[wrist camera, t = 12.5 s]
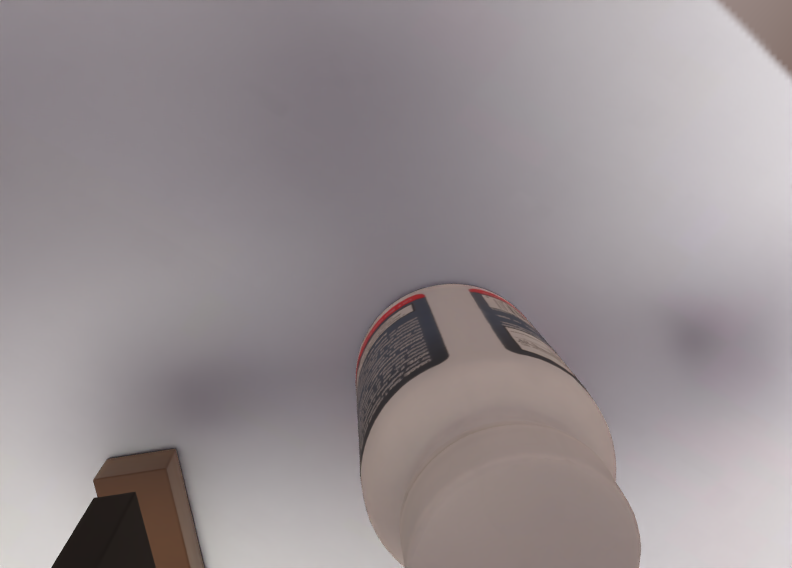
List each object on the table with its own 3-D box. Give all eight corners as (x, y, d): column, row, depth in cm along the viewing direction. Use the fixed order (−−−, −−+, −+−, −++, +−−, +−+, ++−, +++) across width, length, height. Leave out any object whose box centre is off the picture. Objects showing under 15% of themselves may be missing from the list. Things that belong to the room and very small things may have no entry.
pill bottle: (364, 462, 21) (376, 714, 12) (346, 290, 20) (344, 440, 11) (543, 442, 21) (676, 677, 13) (537, 271, 20) (681, 404, 11)
